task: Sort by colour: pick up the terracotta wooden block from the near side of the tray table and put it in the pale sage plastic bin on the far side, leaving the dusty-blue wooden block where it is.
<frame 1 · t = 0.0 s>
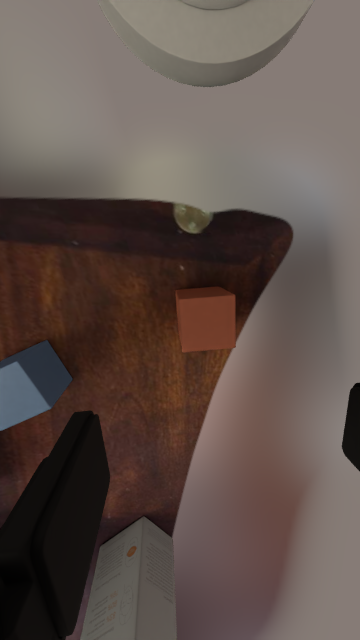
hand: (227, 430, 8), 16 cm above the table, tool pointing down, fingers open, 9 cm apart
terracotta block: (198, 309, 23), on the table
blue block: (39, 369, 24), on the table
small box: (137, 540, 32), on the table
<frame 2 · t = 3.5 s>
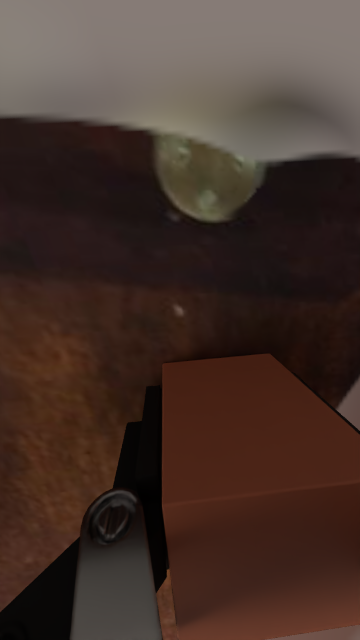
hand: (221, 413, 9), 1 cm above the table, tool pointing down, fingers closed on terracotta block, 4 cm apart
terracotta block: (218, 404, 10), on the table, touching gripper
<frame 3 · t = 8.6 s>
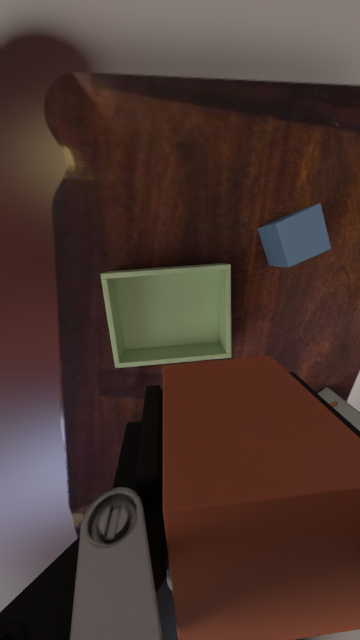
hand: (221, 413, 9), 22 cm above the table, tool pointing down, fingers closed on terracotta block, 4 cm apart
terracotta block: (218, 406, 10), point 22 cm above the table, touching gripper
sage bin: (169, 309, 31), on the table
blue block: (281, 239, 29), on the table
small box: (313, 412, 37), on the table
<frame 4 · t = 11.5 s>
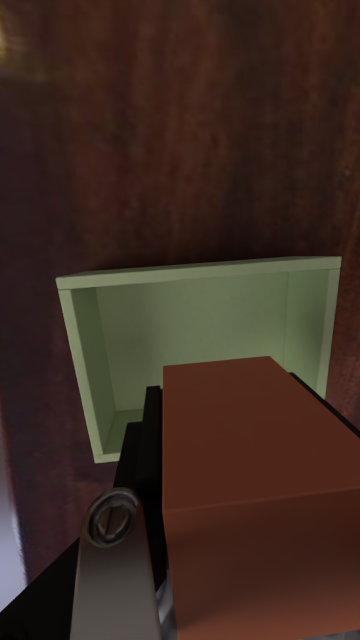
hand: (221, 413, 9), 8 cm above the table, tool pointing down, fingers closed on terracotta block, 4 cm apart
terracotta block: (218, 406, 10), point 8 cm above the table, touching gripper
ornament: (225, 532, 23), on the table
sage bin: (195, 340, 17), on the table
when the fingers open (1 cm above the table, at t = 13.7 s): terracotta block stays where it is, resting on sage bin.
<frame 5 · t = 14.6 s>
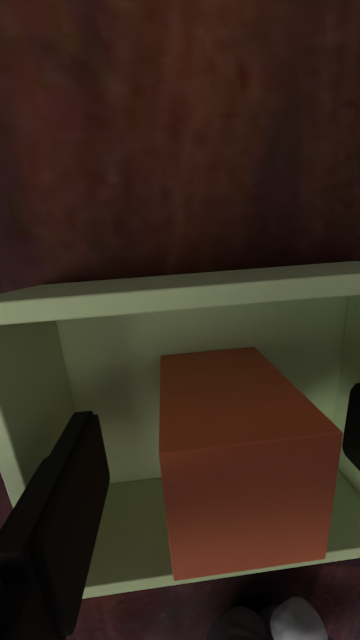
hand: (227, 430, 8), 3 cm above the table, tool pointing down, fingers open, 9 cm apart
terracotta block: (209, 392, 11), point 1 cm above the table, touching sage bin
ornament: (243, 623, 18), on the table
sage bin: (207, 383, 12), on the table
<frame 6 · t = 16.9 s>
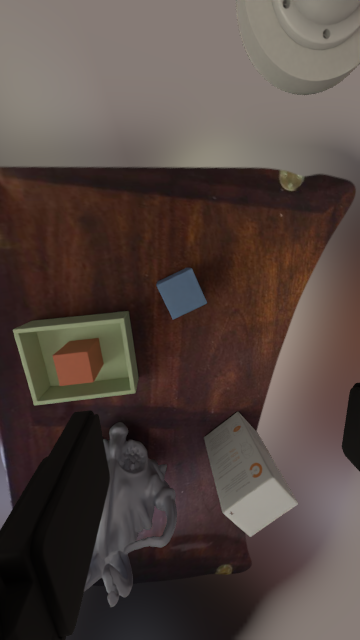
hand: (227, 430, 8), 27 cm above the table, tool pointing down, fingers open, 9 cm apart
terracotta block: (86, 352, 35), point 1 cm above the table, touching sage bin
ornament: (121, 457, 41), on the table
sage bin: (88, 350, 36), on the table
blue block: (179, 289, 34), on the table
small box: (230, 433, 42), on the table
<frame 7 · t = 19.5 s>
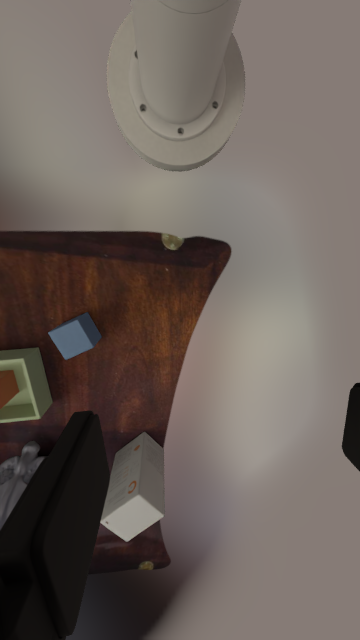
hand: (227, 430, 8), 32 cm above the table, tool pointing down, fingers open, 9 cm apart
terracotta block: (3, 382, 41), point 1 cm above the table, touching sage bin
ornament: (44, 468, 47), on the table
sage bin: (5, 379, 41), on the table
blue block: (82, 330, 40), on the table
small box: (140, 449, 48), on the table
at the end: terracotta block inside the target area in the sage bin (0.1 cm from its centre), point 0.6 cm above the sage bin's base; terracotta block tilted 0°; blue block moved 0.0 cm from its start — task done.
